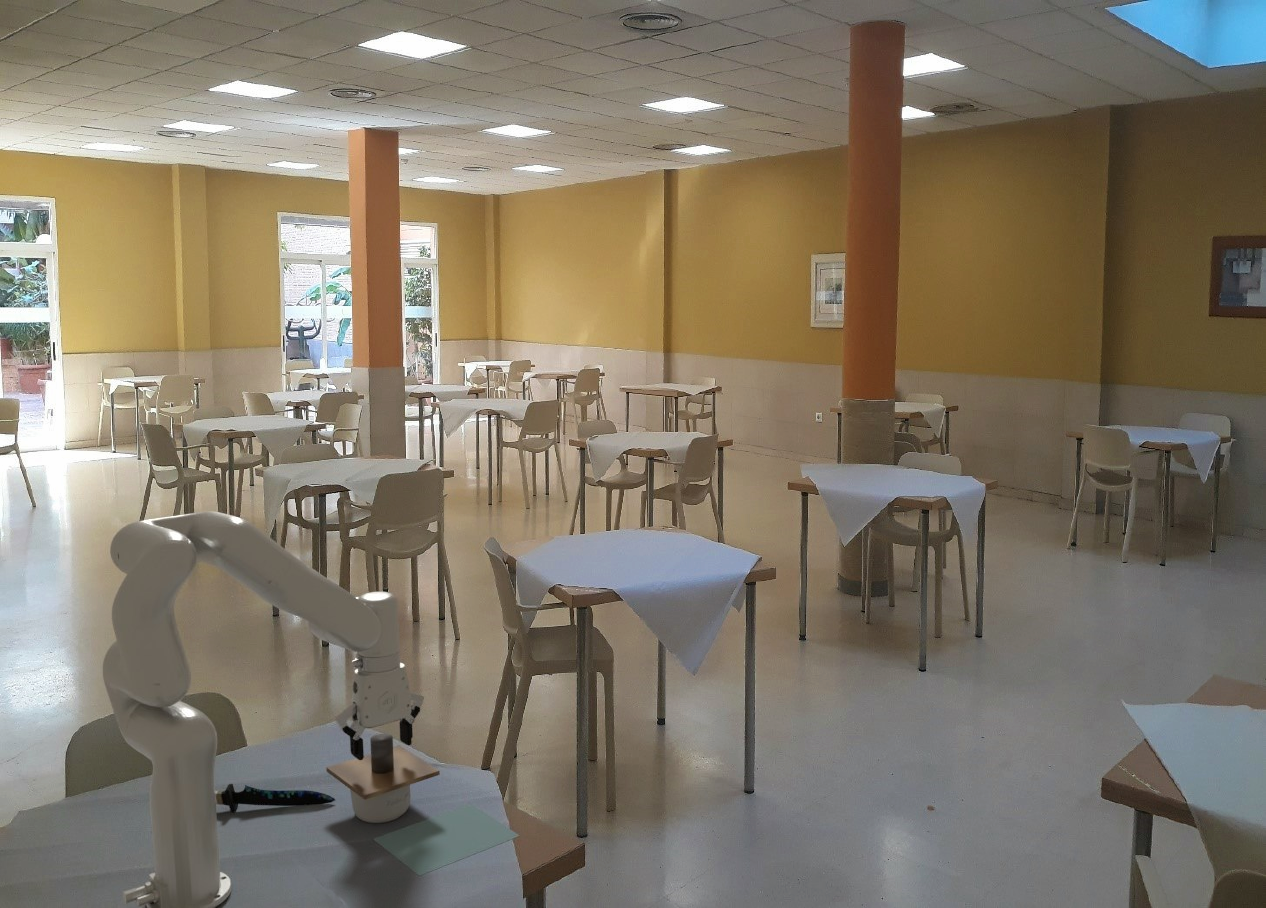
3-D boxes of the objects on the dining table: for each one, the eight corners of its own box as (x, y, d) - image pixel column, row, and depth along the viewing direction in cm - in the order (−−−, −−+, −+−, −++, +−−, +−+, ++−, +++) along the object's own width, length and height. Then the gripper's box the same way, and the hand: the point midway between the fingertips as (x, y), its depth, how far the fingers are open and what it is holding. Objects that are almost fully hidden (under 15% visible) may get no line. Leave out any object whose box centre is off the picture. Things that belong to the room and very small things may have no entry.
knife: (163, 809, 198) (164, 786, 197) (169, 801, 201) (170, 778, 200) (331, 820, 200) (332, 797, 200) (334, 812, 203) (336, 790, 203)
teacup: (396, 834, 191) (395, 792, 190) (340, 828, 193) (338, 786, 192) (426, 799, 204) (425, 759, 203) (373, 794, 207) (372, 754, 205)
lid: (364, 799, 187) (363, 762, 186) (326, 771, 198) (324, 736, 197) (439, 774, 197) (438, 739, 196) (399, 749, 208) (398, 715, 207)
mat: (419, 881, 175) (419, 875, 175) (373, 844, 187) (373, 838, 187) (520, 841, 188) (519, 835, 188) (470, 808, 200) (470, 803, 200)
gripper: (343, 677, 186) (347, 770, 189) (431, 655, 197) (434, 743, 200) (324, 666, 192) (329, 756, 194) (411, 645, 203) (414, 731, 205)
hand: (382, 750), depth 197 cm, fingers open, 9 cm apart
